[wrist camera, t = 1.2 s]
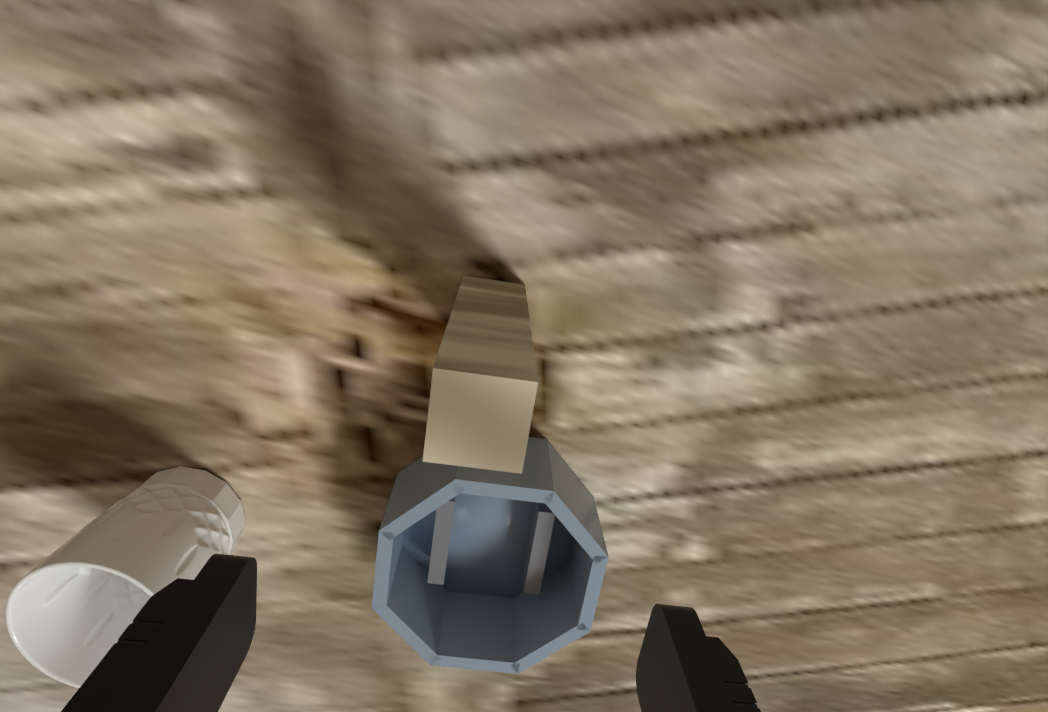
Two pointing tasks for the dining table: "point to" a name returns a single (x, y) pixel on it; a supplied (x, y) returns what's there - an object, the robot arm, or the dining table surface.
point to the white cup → (119, 569)
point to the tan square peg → (483, 380)
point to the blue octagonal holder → (490, 561)
